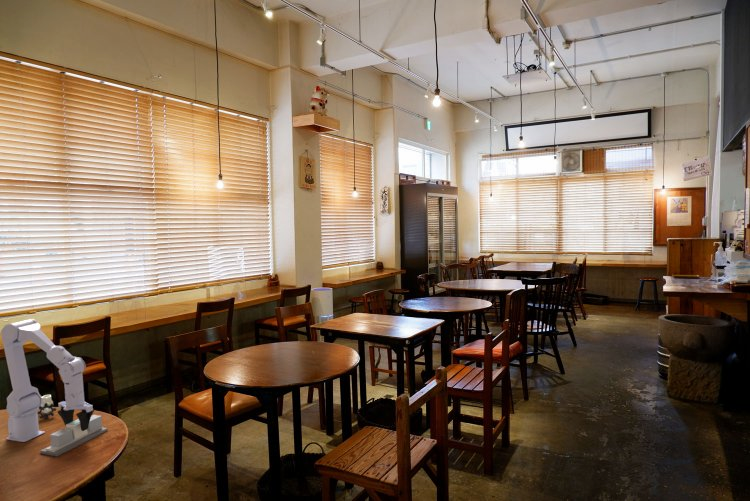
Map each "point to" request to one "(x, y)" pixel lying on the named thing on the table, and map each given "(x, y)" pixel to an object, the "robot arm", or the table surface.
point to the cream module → (76, 429)
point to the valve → (46, 407)
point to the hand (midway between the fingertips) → (77, 428)
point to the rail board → (64, 438)
